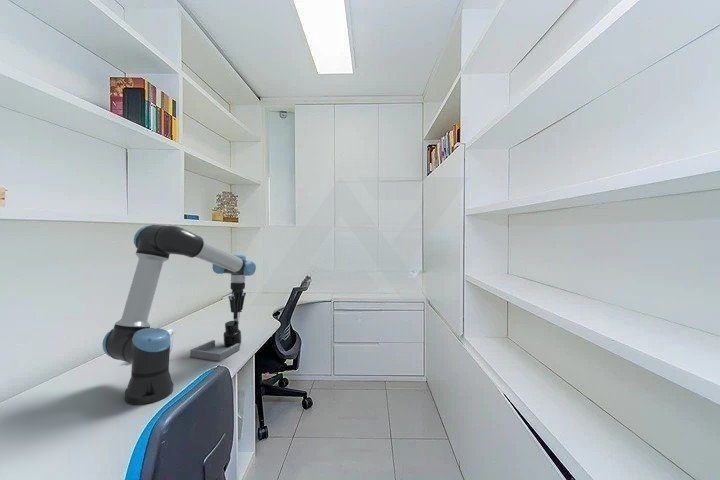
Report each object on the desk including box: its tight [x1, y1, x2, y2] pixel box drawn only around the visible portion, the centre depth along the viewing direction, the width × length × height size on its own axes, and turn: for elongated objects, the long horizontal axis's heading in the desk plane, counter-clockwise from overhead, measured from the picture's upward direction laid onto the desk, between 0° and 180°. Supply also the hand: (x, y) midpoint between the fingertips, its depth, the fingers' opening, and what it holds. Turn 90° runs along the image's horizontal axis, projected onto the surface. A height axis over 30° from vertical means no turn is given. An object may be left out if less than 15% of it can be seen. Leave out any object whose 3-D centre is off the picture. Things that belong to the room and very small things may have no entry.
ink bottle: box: [222, 320, 242, 348], centre depth 170 cm, size 10×9×12 cm
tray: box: [189, 339, 241, 363], centre depth 157 cm, size 16×16×4 cm
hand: (236, 323), depth 173 cm, fingers closed
